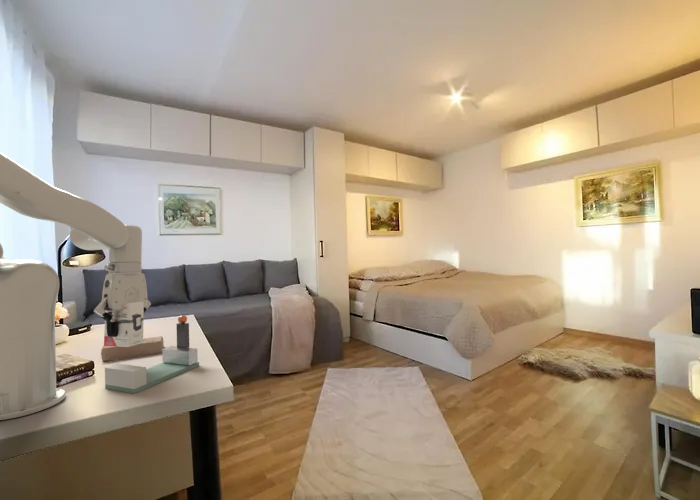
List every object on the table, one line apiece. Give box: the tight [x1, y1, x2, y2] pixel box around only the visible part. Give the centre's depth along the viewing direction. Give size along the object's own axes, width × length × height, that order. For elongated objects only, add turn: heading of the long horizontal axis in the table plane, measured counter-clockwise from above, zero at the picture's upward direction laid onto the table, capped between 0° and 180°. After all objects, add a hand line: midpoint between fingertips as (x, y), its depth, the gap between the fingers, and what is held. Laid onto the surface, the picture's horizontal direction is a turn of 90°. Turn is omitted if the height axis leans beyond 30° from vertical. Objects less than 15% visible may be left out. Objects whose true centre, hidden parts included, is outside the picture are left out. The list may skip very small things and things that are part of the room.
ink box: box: [103, 301, 145, 347], centre depth 88 cm, size 8×5×12 cm, turn 78°
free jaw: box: [161, 314, 199, 365], centre depth 92 cm, size 4×10×13 cm, turn 70°
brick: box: [100, 335, 165, 362], centre depth 105 cm, size 17×8×5 cm, turn 120°
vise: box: [104, 361, 200, 394], centre depth 84 cm, size 19×10×5 cm, turn 160°
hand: (124, 333), depth 88 cm, fingers closed on ink box, 5 cm apart
